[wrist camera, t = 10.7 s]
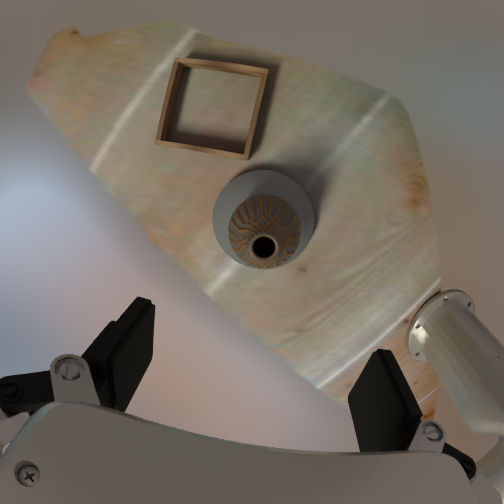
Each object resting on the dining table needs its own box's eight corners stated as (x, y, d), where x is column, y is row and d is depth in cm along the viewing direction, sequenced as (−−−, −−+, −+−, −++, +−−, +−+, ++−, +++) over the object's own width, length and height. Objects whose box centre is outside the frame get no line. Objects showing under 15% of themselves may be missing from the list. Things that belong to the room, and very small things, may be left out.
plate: (323, 183, 30) (325, 184, 29) (298, 273, 34) (299, 278, 33) (225, 160, 30) (223, 160, 29) (207, 253, 34) (205, 257, 33)
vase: (294, 187, 30) (304, 200, 21) (299, 249, 32) (309, 283, 24) (228, 194, 30) (214, 209, 22) (237, 255, 32) (226, 290, 24)
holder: (268, 75, 27) (268, 69, 25) (248, 160, 30) (247, 160, 28) (181, 63, 27) (175, 57, 25) (162, 144, 30) (154, 144, 28)
